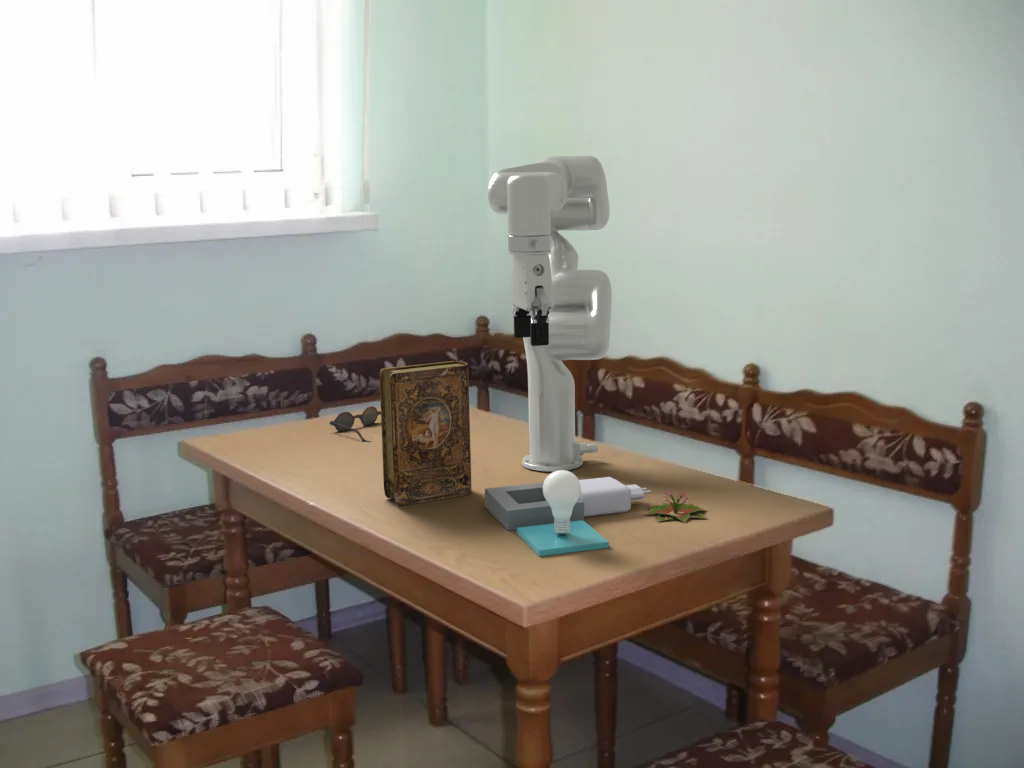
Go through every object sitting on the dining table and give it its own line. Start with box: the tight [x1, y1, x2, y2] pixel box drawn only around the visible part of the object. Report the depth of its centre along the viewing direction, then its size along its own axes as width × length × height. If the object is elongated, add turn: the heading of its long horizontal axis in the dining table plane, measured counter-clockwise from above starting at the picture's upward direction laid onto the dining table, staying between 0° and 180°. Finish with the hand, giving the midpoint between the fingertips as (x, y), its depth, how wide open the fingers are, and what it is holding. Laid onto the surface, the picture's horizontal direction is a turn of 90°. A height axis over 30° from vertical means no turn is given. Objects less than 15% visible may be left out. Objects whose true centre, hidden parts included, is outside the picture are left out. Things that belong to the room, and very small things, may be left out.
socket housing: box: [484, 481, 585, 531], centre depth 203 cm, size 14×14×4 cm
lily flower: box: [644, 489, 708, 524], centre depth 202 cm, size 12×12×5 cm
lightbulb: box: [543, 470, 581, 535], centre depth 188 cm, size 6×6×11 cm
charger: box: [578, 476, 652, 518], centre depth 206 cm, size 5×9×15 cm
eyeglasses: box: [329, 406, 381, 443], centre depth 265 cm, size 15×15×5 cm
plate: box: [516, 520, 610, 557], centre depth 189 cm, size 12×12×1 cm
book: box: [379, 360, 473, 506], centre depth 212 cm, size 16×6×25 cm, turn 117°
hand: (531, 341), depth 203 cm, fingers open, 9 cm apart
